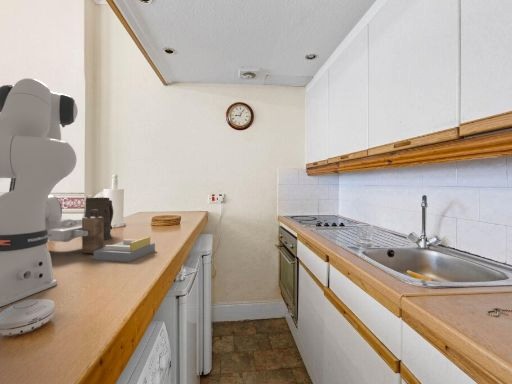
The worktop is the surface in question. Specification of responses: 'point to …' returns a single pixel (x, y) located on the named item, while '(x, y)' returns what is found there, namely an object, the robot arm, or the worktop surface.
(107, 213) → the beer stein
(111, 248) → the dock
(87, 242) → the brown handled block
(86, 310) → the worktop surface
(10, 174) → the robot arm
